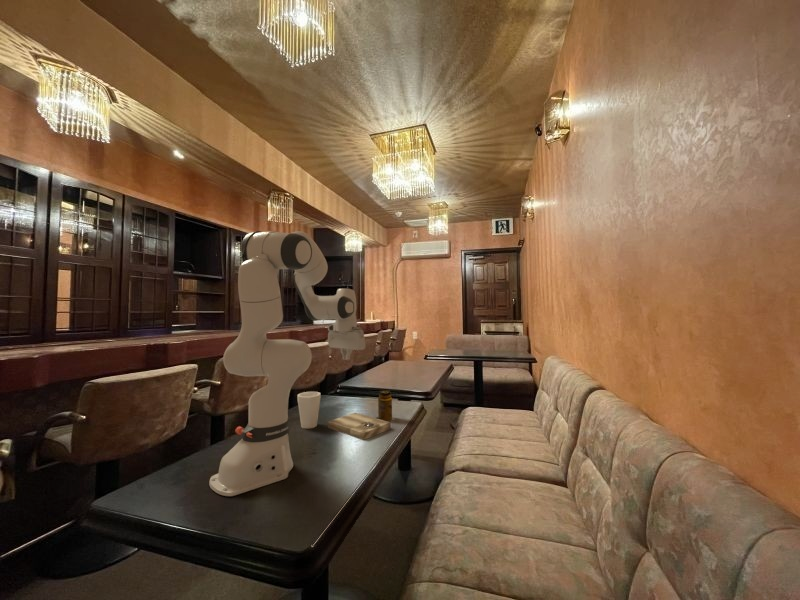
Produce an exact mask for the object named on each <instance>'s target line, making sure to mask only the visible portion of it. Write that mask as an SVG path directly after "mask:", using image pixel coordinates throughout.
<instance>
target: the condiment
mask: <svg viewBox="0 0 800 600" xmlns="http://www.w3.org/2000/svg"><path fill="white" fill-rule="evenodd" d="M377 401H378V402H377V404H378V405H377V408H378V409H377V410H378V411H377V412H378V413H377V414H378V416H377V417H376V418H377V419H380V420H384V421H387V422H391V421H395V420H396V418H394V417H393V398H392V391H390V390H380V391H379V392H378V400H377Z"/></svg>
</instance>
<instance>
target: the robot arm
mask: <svg viewBox="0 0 800 600" xmlns="http://www.w3.org/2000/svg"><path fill="white" fill-rule="evenodd" d="M240 254H241V259H242V263H241V264H240V265H239V267H238V275H237V276H238V277H237V285H238V286H237V288H238V289H237V290H238V298H239V299H238V300H239V305H240V314H241V315H240V316H241V328H240V332H239V334H238V336H237V337H236V338H235V340H234V341H233V342H231V343H230V344H229V345H227V347H226V348H225V351H224V353H223V357H222V361H223V366H224V368H225V370H226V371H227V373H229V374H231V375H236V376H241V377H268V378H267V384H266V385H264V386H262V387H261V388H259V389H257V390H256V391H254V392H253V393H252V394H251V395H250V397H249V399H248V423H247V424H246V426H245V427H242V426H240V425H239V426H237V427H236V428H235V429H234V430H235V433H236V434H238V436H241V439H240V440H239V441H238V442H237V443H236V444H234V446H233V447H232V448H231V449H230V450H229V451H228V452H227V453H226V454H224V455H223V456H222V457H221V460H220V462H219V468H218V473H216V474H213V475H211V476H210V479H209V483H208V484H209V487H210V489H211V490H212V491H214V492H215V493H216V494H218V495H221V496H223V497H224V496H225V497H234V496H237V495H240V494H244V493H246V492H249V491H252V490H256V489H259V488H261V487H265V486H268V485H271V484H273V483H276V482H280V481H282V480H285V479H287V478H288V477H289V473H290V471H291V470H292V469H293V467H294V462H293V458H292V455H291V450H290V442H289V436H290V435H289V434H290V418H289V417H288V415H289V413H288V411H289V397H290V393H291V389H292V387H293V385H294V383H295V382H296V380H297V379H298V378H299V377H300V376H301V375H303V374H304V373H305V372H306V371H307V370H308V369H309V367H310V366H311V363H312V358H313V356H312V355H313V354H312V350H311V348H310V346H309V345H308V343H306V342H305V341H302V340H297V339H291V338H289V339H288V338H287V339H286V338H285V339H280V338H279V339H271V338H270V339H269V338H267V337H268V336H267V334H268V333H269V332H271V331H273V330H274V329H277V327H279V326H280V325H281V324H282V322H283V318H284V313H283V304H282V294H281V288H280V283H279V279H278V278H279V277H278V275H279V272H280V270H292V271H294V273H293V277H292V278H293V284H294V286H295V289H296V291H297V294H298V296H299V298H300V300H301V302H302V304H303V306H304V312H305V314H306V316H307V317H308V318H309V319H310V320H311V321H313V322H314V321H317V322H318V321H323V320H325V321H326V320H327V321H328V320H329V321H331V320H333V321H334V320H335V322H333V323H332V324H330V325H328V326H327V330H328V334H327V344H328V347H329V348H332V349H340V353H341V355H342V360H347V361H349V360H351V355H352V353H353V350H354V351H362V350H365V349H366V340H365V339H366V338H365V333H364V330H363V328H362V327H360V326H359V327H358V326H357V314H356V312H357V298H356V297H357V296H356V293H355V290H354V289H351V288H348V287H344V288H343V287H342V288H337V290H336V294H334V295H317V294H315V291H314V289H313V287H312V286H314V285H317V284H319V283H320V282H321V281H323V279H324V278H325V277H326V276H327V273H328V269H329V268H328V267H329V266H328V262H327V260H326V258H325V256H324V254H323V252H322V251H321V249H320V247H319V246H318V245H317V243H316V242H315V241H314V239H313V238H312V237H311V236H310V235H309V234H308V233H307V232H305V231H299V230H297V231H293V232H290V233H289V232H281V231H275V230H268V231H267V230H265V231H261V230H256V231H251V232H249V233H246V235H245V236H244V237H243V239H242V242H241V246H240Z"/></svg>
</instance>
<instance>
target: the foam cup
mask: <svg viewBox="0 0 800 600" xmlns="http://www.w3.org/2000/svg"><path fill="white" fill-rule="evenodd" d="M296 396H297V397H296V398H297V405H298V406H297V407H298V414H299V418H300V419H299V420H300V426H301V428H302V429H307V430H309V429H314V428H315V427H317V426H318V419H319V412H320V404H321V399H322V398H321V397H322V396H321V392H318V391H306V392H305V391H303V392H300V393H298V394H297V395H296Z"/></svg>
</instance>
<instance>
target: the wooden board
mask: <svg viewBox="0 0 800 600" xmlns="http://www.w3.org/2000/svg"><path fill="white" fill-rule="evenodd" d="M370 423H371V424H373V425H374V426H372V427H366V426H367V424H370ZM327 428H328V429H330V430H332V431H333V430H334V431H337V432H339V433H342V434H345V435H348V436H351V437H354V438H355V439H359V440H362V441H365V440H367V439H369V438H372V437H374V436H376V435H379V434H381V433H384V432H386V431H388V430H390V429H392V428H391V421H388V422H387V421H384V420H380V419H377V417H372V416H369V415H365V414H362V413H358V412H353V413H350V414H346V415H344V416H339V417H337V418H335V419H332V420H328V421H327Z"/></svg>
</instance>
